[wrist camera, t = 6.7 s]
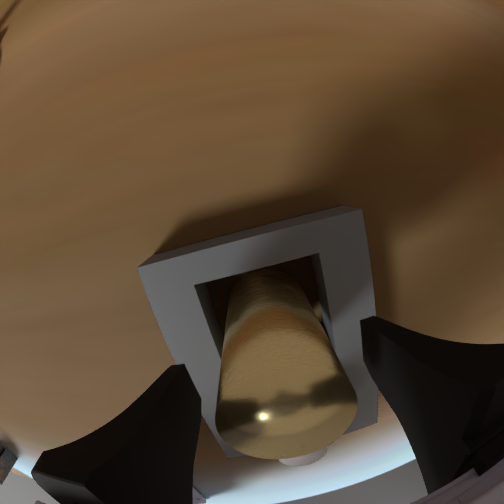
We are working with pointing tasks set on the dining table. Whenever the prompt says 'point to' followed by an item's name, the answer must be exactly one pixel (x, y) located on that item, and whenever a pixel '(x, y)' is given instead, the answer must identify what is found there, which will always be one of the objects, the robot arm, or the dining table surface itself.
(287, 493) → the dining table surface
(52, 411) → the dining table surface
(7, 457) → the ruin model on sheet
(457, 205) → the dining table surface
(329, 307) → the grey holder block
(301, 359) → the cylinder
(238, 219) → the dining table surface
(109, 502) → the robot arm
